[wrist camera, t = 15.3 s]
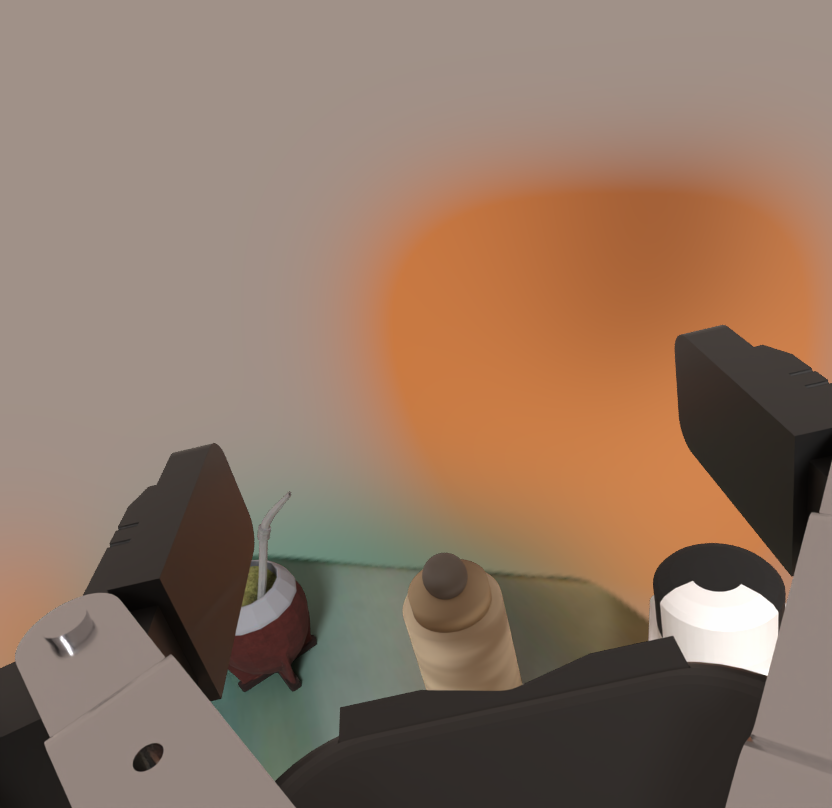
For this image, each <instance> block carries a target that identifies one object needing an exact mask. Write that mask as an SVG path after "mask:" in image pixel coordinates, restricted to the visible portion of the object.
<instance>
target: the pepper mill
mask: <svg viewBox="0 0 832 808" xmlns="http://www.w3.org/2000/svg"><path fill="white" fill-rule="evenodd" d="M403 617H404V621H405V624H406V627H407V630H408V633H409V636H410V640H411V643H412V646H413V649H414V652H415V655H416V658H417V662H418V665H419V668H420V671H421V674H422V677H423V681H424V684H425V687H426V690H472V691H502V690H509V689H513V688H516V687H518V686H521V685H522V680H521V676H520V672H519V667H518V663H517V658H516V654H515V649H514V645H513V641H512V636H511V632H510V627H509V623H508V618H507V614H506V610H505V605H504V601H503V596H502V592H501V589H500V586H499V584H498V583H497V581H496V580H495V579H494V578H493V577H492V576H491V575H489V574H487V573H486V572H485V571H484V570H483V568H482V567H480V566H479V565H477V564H476V563H474V562H472V561H468V560H463V559H460V558H458V557H457V556H455V555H453V554H450V553H439V554H436V555H434V556H433V557H431V558H430V559H429V560H428V561H427V562H426V564H425V566H424V568H423V570H422V571H420V572H419V573H418V574H417V575H416V576H415V577H414V579H413V580H412V582H411V584H410V586H409V589H408V595H407V597H406V598H405V601H404V604H403Z"/></svg>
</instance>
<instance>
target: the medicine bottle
mask: <svg viewBox="0 0 832 808" xmlns="http://www.w3.org/2000/svg"><path fill="white" fill-rule="evenodd" d="M653 589H654V595H653V596H652V597H651V599H650V612H649V639H648V641H651V640H655V639H660V638H665V637H669V636H674V638H675V640H676V642H677V644H678V646H679V648H680V650H681V652H682V653H683V655H684V657H685V659H686V661H687V662H706V663H715V664H723V665H728V666H733V667H738V668H743V669H746V670H750V671H753V672H756V673H760V674H763V675H766V676H768V672H769V668H770V664H771V660H772V657H773V653H774V649H775V645H776V641H777V638H778V634H779V630H780V626H781V622H782V618H783V615H784V611H785V607H786V603H785V586H784V583H783V581H782V579H781V576H780V575H779V574H778V572H777V571H776V570H775V569H774V568H773V567H772V566H771V565H770V564H769V563H768V562H766V561H765V560H764V559H762V558H761V557H759V556H758V555H756V554H755V553H752V552H750V551H748V550H746V549H743V548H740V547H736V546H733V545H727V544H719V543H707V544H706V543H705V544H697V545H692V546H689V547H685V548H683V549H680V550H678V551H676V552H675V553H673V554H672V555H670V556H669V557H668V558H666V559H665V560H664V561H663V562H662V563H661V564H660V565H659V567H658V568H657V570H656V572H655V575H654V579H653Z"/></svg>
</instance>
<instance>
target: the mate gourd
mask: <svg viewBox="0 0 832 808" xmlns="http://www.w3.org/2000/svg"><path fill="white" fill-rule="evenodd" d="M290 496H291V492H290V491H289V492H288V493H287V494H286V495H285V496H284V497H283V498H282V499H281V500H279V501H278V502H277V503H276V504H275V505H274V506H273V507H272V508H271V509H270V510H269V511H268V513H267V514H266V516H265V517H264V519H263V520H262V523H261V524H260V525H259V527H258V535H257V537H258V540H259V560H252V561H251V565H250V570H249V574H248V579H247V584H246V588H245V593H244V597H243V602H242V606H241V611H240V616H239V620H238V625H237V629H236V634H235V638H234V643H233V648H232V652H231V657H230V661H229V666H228V670H229V671H230V672H231V673H233V674H234V675H235V676H236V677H237V678H238V679H239V680H241V681H240V682H239V683H238V685H239V687H240V688H241V689H242V690H243V692H246V691H248V690H249V689H251V688H252V687H254V686H255V685H257V684H258V683H260V682H261V681H263V680H264V679H266V678H268V677H269V676H271V675H272V674H274V673H278V674H279V675H280V676H281V677H282V679H283V680H284V681H285V683H286V684H287V685H288V687H289V688H290V689H291V690H292V691H295V690H297V689H298V688H300V687H301V682H300V681H299V679H298V677H297V676H296V674H295V673H294V672H293V670H292V668H291V664H292V662H293V660H295V659H296V658H298V657H299V656H300V655H302V654H303V653H305V652H306V651H308V650H309V649H311V648H312V647H314V646H315V645H316V644H317V642H316V637H315V636H314V635H311V634H310V618H309V611H308V605H307V600H306V596H305V593H304V591H303V589H302V587H301V586H300V584H299V583H298V582H297V581H296V580H295V577H294V576H293V575H292V574H291V573H290V572H289V571H288V570H287V569H286V568H285V567H283V566H282V565H280V564H277V563H275V562H271V561H268V560H267V549H268V540H269V538H270V531H271V527H270V524H271V522H272V520H273V518H274V517H275V515H276V514H277V513H278V511H279V510H280V509H281V508H282V506H283V505H284V504H285V503H286V501H287V500H288V499H289V498H290Z"/></svg>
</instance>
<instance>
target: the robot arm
mask: <svg viewBox="0 0 832 808" xmlns="http://www.w3.org/2000/svg"><path fill="white" fill-rule="evenodd" d="M675 363H676V378H677V395H678V410H679V421H680V426H681V430H682V433H683V436H684V439H685V442H686V444H687V446H688V448H689V449H690V451H691V452H692V454H693V455H694V456H695V457H696V458H697V460H698V461H699V462H700V463H701V465H702V466H703V467H704V468H705V470H706V471H707V472H708V473H709V475H710V476H711V477H712V478H713V480H714V481H715V482H716V483H717V485H718V486H719V487H720V488H721V489H722V491H723V492H724V493H725V494H726V495H727V497H728V498H729V499H730V501H731V502H732V503H733V504H734V506H735V507H736V508H737V509H738V511H739V512H740V513H741V514H742V516H743V517H744V518H745V519H746V521H747V522H748V523H749V524H750V525H751V527H752V528H753V529H754V530H755V532H756V533H757V534H758V535H759V537H760V538H761V539H762V540H763V542H764V543H765V544H766V545H767V547H768V548H769V549H770V550H771V551H772V553H773V554H774V555H775V557H776V558H777V559H778V560H779V561H780V563H781V564H782V565H783V566H784V568H785V569H786V570H787V571H788V573H789V574H790V575H791V576H793V580H792V584H791V588H790V592H789V595H788V599H787V603H786V607H785V611H784V615H783V618H782V622H781V626H780V630H779V634H778V638H777V641H776V645H775V649H774V653H773V657H772V660H771V664H770V668H769V672H768V676H766V675H763V674H760V673H756V672H753V671H750V670H746V669H743V668H738V667H733V666H728V665H723V664H715V663H706V662H687V661H686V659H685V657H684V655H683V653H682V652H681V650H680V648H679V646H678V644H677V642H676V640H675V638H674V636H669V637H665V638H660V639H655V640H651V641H646V642H641V643H637V644H632V645H628V646H623V647H618V648H614V649H609V650H604V651H600V652H595V653H590V654H588V655H586V656H584V657H582V658H579V659H577V660H575V661H573V662H571V663H568V664H566V665H564V666H562V667H560V668H558V669H555V670H553V671H551V672H549V673H547V674H545V675H542V676H540V677H538V678H536V679H534V680H532V681H529V682H527V683H525V684H523V685H521V686H518V687H516V688H513V689H509V690H502V691H472V690H419V691H414V692H410V693H405V694H401V695H396V696H391V697H387V698H382V699H377V700H373V701H368V702H364V703H359V704H354V705H350V706H345V707H340V728H339V736H338V737H336V738H334V739H332V740H330V741H328V742H326V743H325V744H323V745H321V746H320V747H318V748H316V749H315V750H313V751H311V752H310V753H308V754H307V755H306V756H304V757H303V758H302V759H300V760H299V761H297V762H296V763H295V764H293V765H292V766H291V767H290V768H289V769H288V770H287V771H286V772H284V773H283V774H282V775H281V776H280V777H279V778H278V779H277V780H276V781H274V780H273V779H272V778H271V776H270V775H269V774H268V773H267V771H266V770H265V769H264V768H263V766H262V765H261V764H260V763H259V762H258V760H257V759H256V758H255V757H254V755H253V754H252V753H251V752H250V750H249V749H248V748H247V747H246V745H245V744H244V743H243V742H242V740H241V739H240V738H239V737H238V735H237V734H236V733H235V732H234V731H233V729H232V728H231V727H230V726H229V724H228V723H227V722H226V721H225V719H224V718H223V717H222V716H221V714H220V713H219V712H218V711H217V709H216V708H215V707H214V706H213V704H212V703H211V702H210V701H213V700H218V699H221V698H222V693H223V689H224V684H225V680H226V675H227V670H228V666H229V661H230V657H231V652H232V648H233V643H234V638H235V634H236V629H237V625H238V620H239V616H240V611H241V606H242V602H243V597H244V593H245V588H246V584H247V579H248V574H249V570H250V565H251V561H252V556H253V552H254V531H253V525H252V521H251V518H250V515H249V512H248V510H247V507H246V505H245V503H244V500H243V498H242V495H241V493H240V491H239V488H238V486H237V483H236V481H235V478H234V476H233V474H232V471H231V469H230V467H229V464H228V462H227V460H226V457H225V455H224V453H223V451H222V449H221V448H220V447H219V446H218V445H217V444H215V443H213V444H209V445H205V446H200V447H196V448H192V449H188V450H183V451H179V452H175V453H172V454H171V456H170V458H169V460H168V462H167V464H166V466H165V468H164V470H163V473H162V475H161V477H160V479H159V481H158V483H157V485H154V486H150V487H148V488H147V489H146V490H145V491H144V492H143V493H142V494H141V495H140V496H139V497H138V498H137V499H136V500H135V501H134V502H133V503H132V504H131V505H130V506H129V507H128V508H127V511H126V512H125V514H124V516H123V518H122V520H121V522H120V524H119V526H118V529H119V530H118V531H116V532H115V534H114V536H113V538H112V540H111V542H110V548H107V550H106V552H105V554H104V555H103V557H102V559H101V561H100V563H99V565H98V567H97V569H96V571H95V573H94V575H93V577H92V579H91V581H90V583H89V585H88V587H87V589H86V590H85V592H84V594H83V596H81V597H78V598H75V599H73V600H71V601H68V602H66V603H64V604H62V605H60V606H58V607H57V608H55V609H54V610H52V611H50V612H49V613H47V614H46V615H45V616H44V617H42V618H41V619H40V620H39V621H38V622H36V623H35V624H34V625H33V626H32V627H31V628H30V629H29V631H28V632H27V633H26V634H25V636H24V637H23V638H22V640H21V641H20V643H19V645H18V647H17V650H16V653H15V662H13V663H11V664H9V665H7V666H5V667H2V668H0V808H832V383H830V384H829V383H828V380H827V379H826V378H825V377H823V376H822V375H820V374H819V373H818V372H816V371H814V372H813V371H812V368H811V367H809V366H808V365H806V364H805V363H804V362H802V361H801V360H799V359H798V358H797V357H795V356H794V355H793V354H790V353H787V352H784V351H781V350H777V349H774V348H771V347H768V346H764V345H760V346H756V347H753V346H752V345H751V344H749V343H748V342H746V341H745V340H744V339H743V338H741V337H740V336H739V335H738V334H736V333H735V332H734V331H733V330H731V329H730V328H729V327H727V326H725V325H720V326H716V327H712V328H708V329H703V330H699V331H695V332H691V333H686V334H682V335H679V336H678V337H677V339H676V341H675Z"/></svg>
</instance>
